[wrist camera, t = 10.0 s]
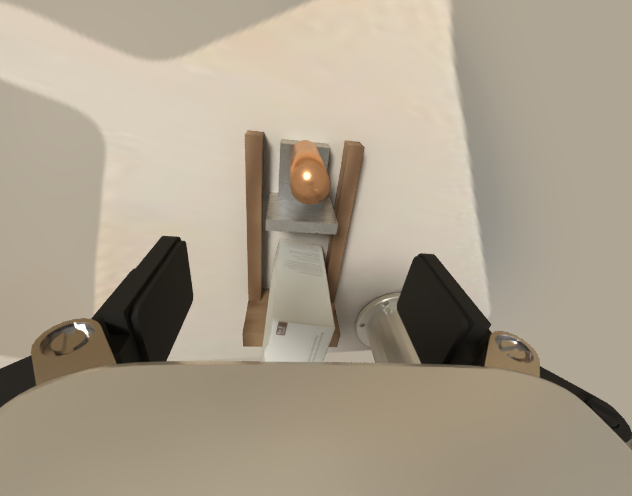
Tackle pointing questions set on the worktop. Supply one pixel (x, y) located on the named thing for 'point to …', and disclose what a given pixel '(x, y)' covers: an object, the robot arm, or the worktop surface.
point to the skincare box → (298, 306)
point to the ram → (302, 190)
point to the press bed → (254, 205)
